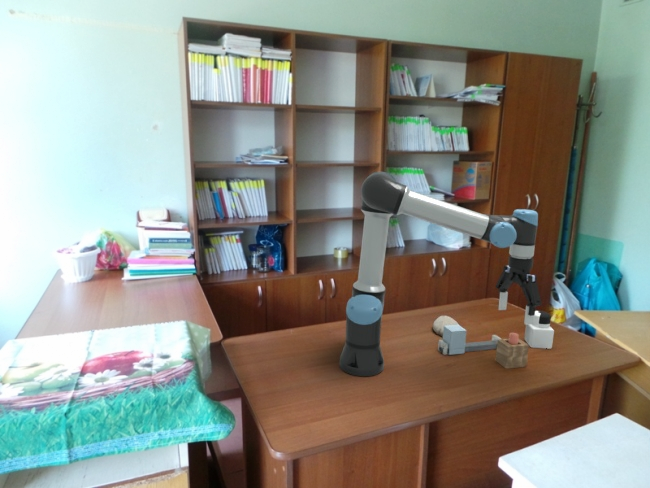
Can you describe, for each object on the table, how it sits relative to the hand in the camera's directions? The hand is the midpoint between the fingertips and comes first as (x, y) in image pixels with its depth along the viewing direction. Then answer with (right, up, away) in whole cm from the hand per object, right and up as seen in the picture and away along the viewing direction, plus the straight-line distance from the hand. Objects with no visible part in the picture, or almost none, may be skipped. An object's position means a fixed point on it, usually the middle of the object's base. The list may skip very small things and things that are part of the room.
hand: (514, 316), depth 153 cm
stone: (-15, -11, +30) cm, 36 cm away
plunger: (0, -14, +3) cm, 14 cm away
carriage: (-18, -15, +12) cm, 26 cm away
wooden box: (0, -17, +3) cm, 17 cm away
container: (+17, -14, +20) cm, 30 cm away
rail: (-11, -14, +14) cm, 23 cm away
